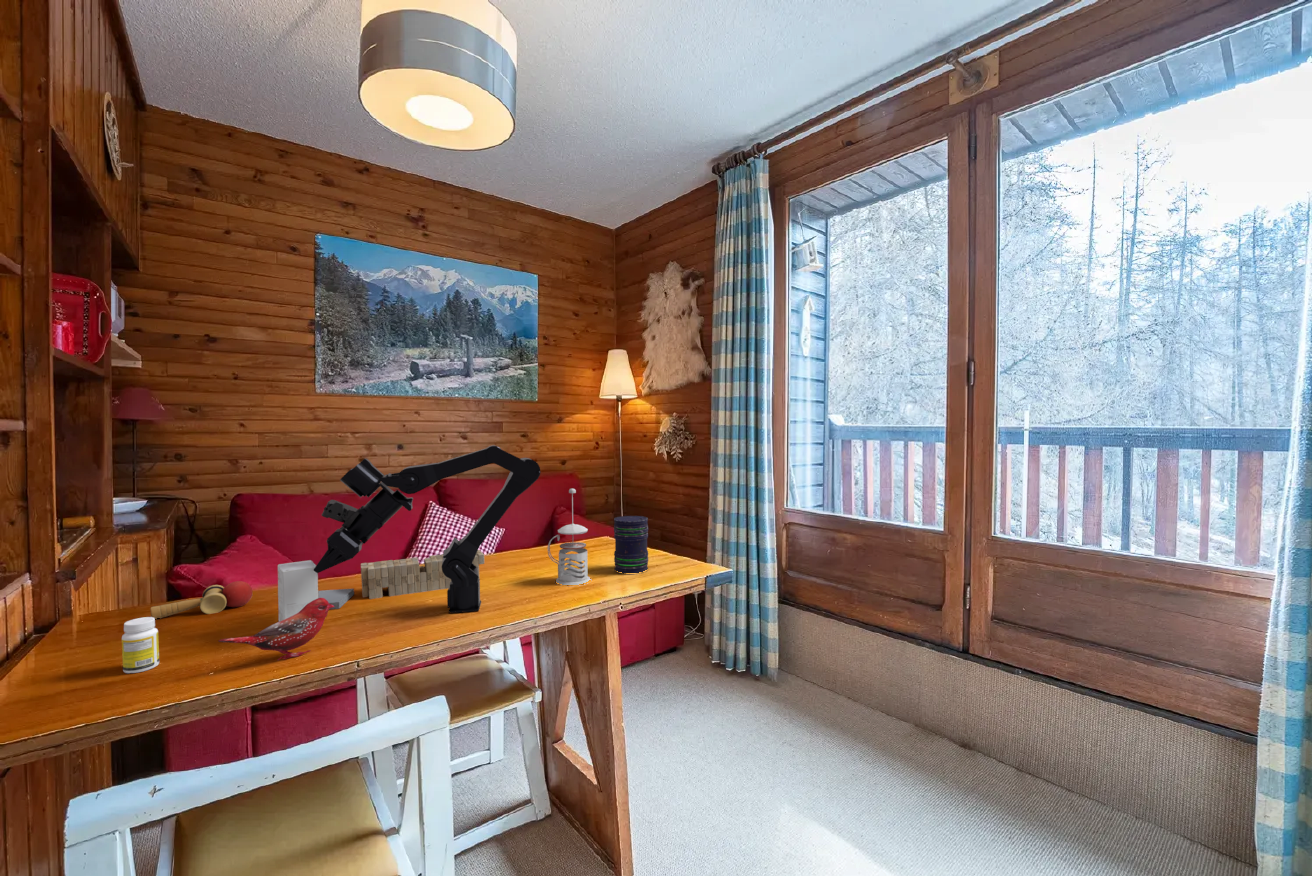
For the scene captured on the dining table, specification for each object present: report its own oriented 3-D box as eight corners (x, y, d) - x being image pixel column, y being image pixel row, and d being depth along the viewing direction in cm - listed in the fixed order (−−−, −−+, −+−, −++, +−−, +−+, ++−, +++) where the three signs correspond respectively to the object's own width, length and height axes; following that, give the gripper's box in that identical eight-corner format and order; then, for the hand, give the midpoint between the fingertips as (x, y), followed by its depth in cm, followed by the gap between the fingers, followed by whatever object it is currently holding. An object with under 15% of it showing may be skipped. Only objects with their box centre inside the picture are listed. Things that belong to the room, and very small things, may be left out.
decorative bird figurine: (337, 648, 106) (336, 596, 106) (220, 679, 94) (218, 620, 93) (333, 644, 108) (332, 593, 108) (217, 673, 96) (216, 616, 95)
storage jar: (610, 573, 158) (609, 521, 157) (618, 565, 167) (618, 515, 167) (645, 575, 156) (644, 521, 156) (651, 566, 166) (650, 516, 165)
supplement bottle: (138, 662, 101) (136, 616, 100) (166, 661, 101) (165, 615, 101) (114, 674, 96) (113, 626, 96) (144, 673, 96) (142, 625, 96)
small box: (319, 628, 117) (318, 566, 117) (283, 635, 113) (281, 571, 113) (312, 618, 123) (311, 559, 123) (278, 624, 119) (276, 564, 119)
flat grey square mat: (354, 594, 140) (353, 588, 140) (339, 608, 129) (339, 602, 129) (305, 597, 138) (305, 591, 138) (285, 612, 127) (285, 605, 127)
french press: (589, 585, 146) (588, 490, 145) (544, 586, 146) (543, 490, 145) (593, 575, 156) (592, 486, 155) (552, 575, 156) (551, 486, 155)
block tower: (362, 604, 136) (486, 584, 149) (360, 570, 135) (484, 552, 149) (362, 595, 143) (480, 576, 156) (360, 563, 142) (479, 546, 156)
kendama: (151, 631, 119) (254, 603, 130) (146, 602, 120) (249, 577, 130) (157, 627, 126) (254, 601, 136) (152, 600, 126) (249, 575, 137)
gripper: (355, 482, 129) (301, 533, 126) (339, 491, 112) (275, 550, 108) (393, 514, 132) (341, 565, 129) (383, 528, 114) (322, 587, 111)
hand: (320, 566), depth 119 cm, fingers open, 9 cm apart
